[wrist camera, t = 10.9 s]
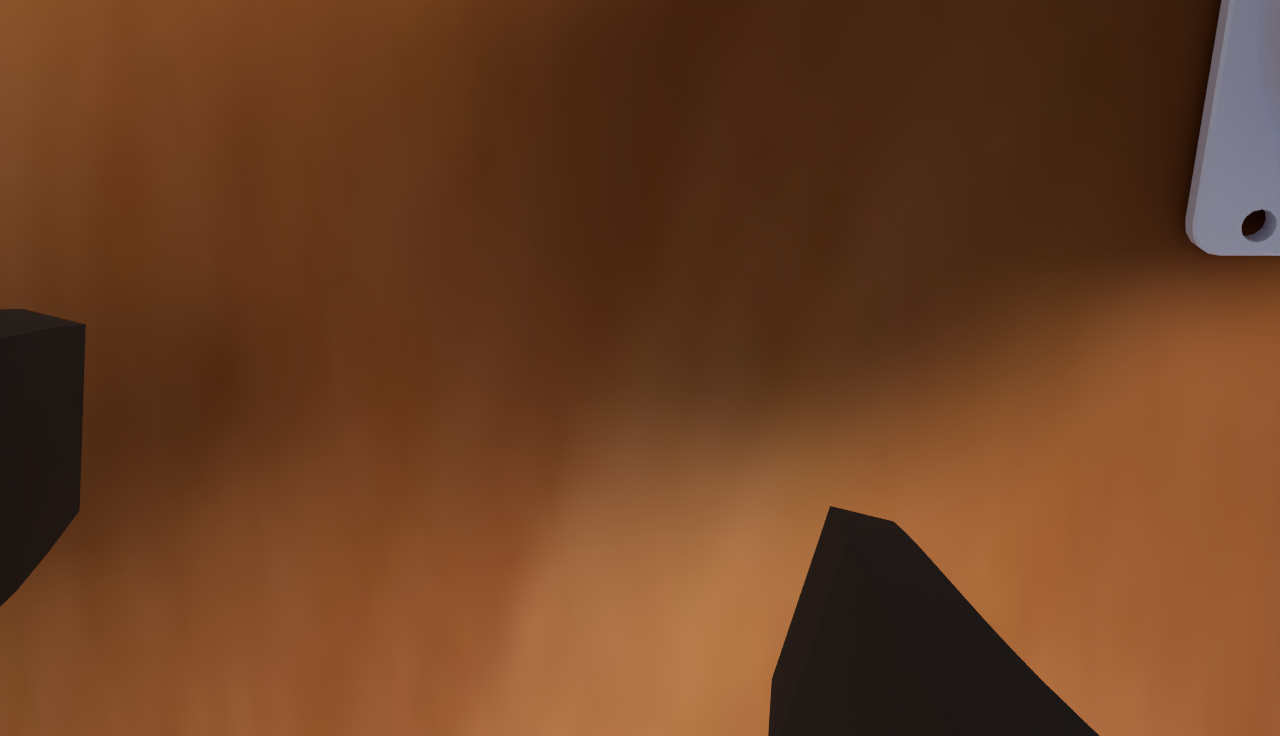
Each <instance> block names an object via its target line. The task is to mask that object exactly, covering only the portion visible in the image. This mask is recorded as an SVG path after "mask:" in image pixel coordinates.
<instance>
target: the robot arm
mask: <svg viewBox="0 0 1280 736" xmlns="http://www.w3.org/2000/svg"><path fill="white" fill-rule="evenodd" d="M1261 209H1263V210H1264V211H1265V217H1266V220H1265V222H1264V225H1263V227H1262V228H1261V229H1260V230H1259V231H1257V232H1256V233H1255V234H1252V235H1248V236H1243V235H1242V228H1241V226H1242V223H1243V221H1244V219H1245V217H1247V216H1248V215H1249V214H1250V213H1252V212H1253V211H1257V210H1261ZM1185 225H1186V233H1187V235H1188V237H1189V239H1190V241H1191V242H1192V243H1194V244H1195V245H1196V246H1198V247H1199V248H1201V249H1202V250H1204V251H1205V252H1206V253H1209V254H1214V255H1219V256H1280V0H1221V7H1220V13H1219V19H1218V25H1217V31H1216V37H1215V43H1214V49H1213V55H1212V61H1211V67H1210V73H1209V80H1208V86H1207V92H1206V98H1205V104H1204V110H1203V116H1202V122H1201V128H1200V134H1199V140H1198V146H1197V153H1196V159H1195V165H1194V171H1193V177H1192V183H1191V189H1190V195H1189V201H1188V207H1187V213H1186V219H1185ZM85 327H86V325H85V324H81V323H77V322H73V321H69V320H65V319H61V318H57V317H53V316H49V315H44V314H40V313H36V312H32V311H28V310H24V309H6V310H0V606H1V605H2V604H3V603H4V602H6V601H7V600H8V599H9V598H10V597H11V596H12V595H13V594H14V593H15V592H16V591H17V589H18V588H19V587H20V586H21V585H22V583H23V582H24V581H25V580H26V579H27V577H28V576H29V575H30V574H31V572H32V571H33V570H34V569H35V568H36V566H37V565H38V564H39V563H40V562H41V560H42V559H43V558H44V557H45V555H46V554H47V553H48V552H49V550H50V549H51V548H52V546H53V545H54V544H55V542H56V541H57V540H58V538H59V537H60V536H61V534H62V533H63V532H64V530H65V529H66V528H67V526H68V525H69V524H70V522H71V521H72V520H73V519H74V517H75V516H76V515H77V513H78V512H79V506H80V476H81V446H82V417H83V387H84V357H85ZM768 736H1099V735H1098V734H1097V733H1096V732H1095V731H1094V730H1093V729H1092V728H1091V727H1090V726H1088V725H1087V724H1086V723H1085V722H1084V721H1083V720H1082V719H1081V718H1080V717H1079V716H1078V715H1077V714H1076V713H1075V712H1074V711H1073V710H1072V709H1071V708H1070V707H1069V706H1068V705H1067V704H1066V703H1065V702H1064V701H1063V700H1062V699H1061V698H1060V697H1059V696H1058V695H1056V694H1055V693H1054V692H1053V691H1052V690H1051V689H1050V688H1049V687H1048V686H1047V685H1046V684H1045V683H1044V682H1043V681H1042V680H1041V679H1040V678H1039V677H1038V676H1037V675H1036V674H1035V673H1034V672H1033V671H1032V670H1031V669H1030V668H1029V667H1028V666H1027V664H1026V663H1025V662H1024V661H1023V660H1022V659H1021V658H1020V657H1019V656H1018V655H1017V654H1016V653H1015V652H1014V651H1013V650H1012V649H1011V648H1010V647H1009V646H1008V645H1007V644H1006V642H1005V641H1004V640H1003V639H1002V638H1001V637H1000V636H999V635H998V634H997V633H996V632H995V631H994V630H993V628H992V627H991V626H990V625H989V624H988V623H987V622H986V621H985V620H984V619H983V618H982V616H981V615H980V614H979V613H978V612H977V611H976V610H975V609H974V608H973V606H972V605H971V604H970V603H969V602H968V601H967V600H966V599H965V598H964V596H963V595H962V594H961V593H960V592H959V591H958V590H957V589H956V587H955V586H954V585H953V584H952V583H951V582H950V581H949V580H948V578H947V577H946V576H945V575H944V574H943V573H942V572H941V571H940V569H939V568H938V567H937V566H936V565H935V564H934V563H933V562H932V560H931V559H930V558H929V557H928V556H927V555H926V554H925V553H924V552H923V551H922V549H921V548H920V547H919V546H918V545H917V544H916V543H915V542H914V541H913V540H912V539H911V538H910V537H909V536H908V535H907V534H906V533H905V532H904V531H903V530H902V529H901V528H900V527H899V526H898V525H897V524H896V523H894V522H893V521H889V520H885V519H881V518H877V517H873V516H869V515H865V514H860V513H856V512H852V511H848V510H844V509H840V508H836V507H832V506H830V508H829V511H828V514H827V517H826V520H825V523H824V526H823V529H822V532H821V535H820V538H819V541H818V544H817V547H816V550H815V553H814V556H813V559H812V562H811V565H810V568H809V571H808V574H807V577H806V580H805V583H804V586H803V589H802V592H801V594H800V597H799V600H798V603H797V606H796V609H795V612H794V615H793V618H792V621H791V624H790V627H789V630H788V633H787V636H786V639H785V642H784V645H783V648H782V651H781V654H780V657H779V660H778V663H777V666H776V669H775V672H774V675H773V678H772V686H771V702H770V717H769V734H768Z"/></svg>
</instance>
